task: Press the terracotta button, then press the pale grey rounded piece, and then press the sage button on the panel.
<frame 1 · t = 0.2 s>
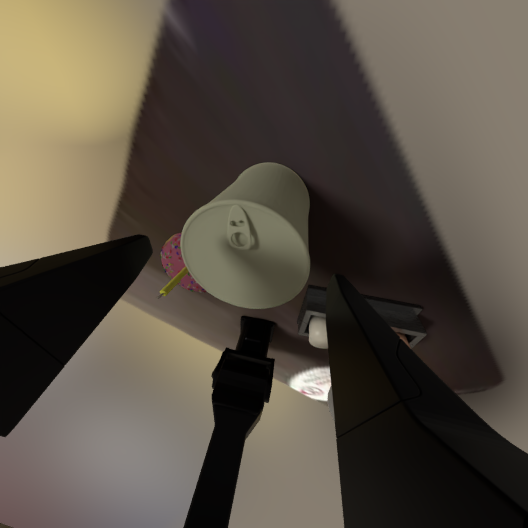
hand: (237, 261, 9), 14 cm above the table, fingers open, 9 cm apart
pale grey rounded piece: (321, 330, 27), point 4 cm above the table, slide at 0.0 cm
cupcake: (210, 244, 27), on the table
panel: (351, 313, 30), on the table
terracotta button: (393, 345, 26), point 4 cm above the table, slide at 0.0 cm
can: (269, 205, 22), on the table
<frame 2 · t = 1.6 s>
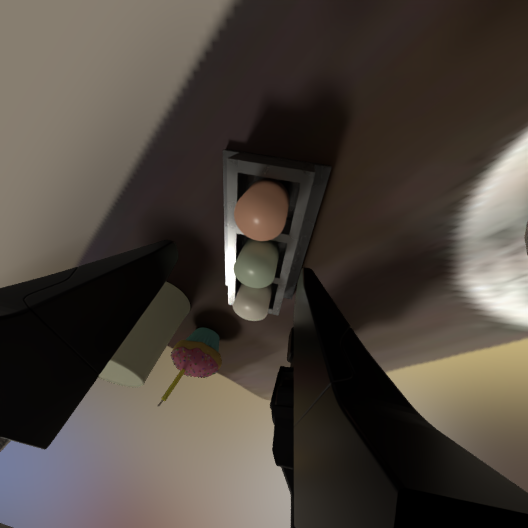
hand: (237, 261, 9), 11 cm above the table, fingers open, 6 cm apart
sage button: (258, 260, 17), point 4 cm above the table, slide at 0.0 cm
pale grey rounded piece: (253, 297, 20), point 4 cm above the table, slide at 0.0 cm
cupcake: (208, 333, 36), on the table
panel: (266, 238, 21), on the table
terracotta button: (264, 208, 14), point 4 cm above the table, slide at 0.0 cm
can: (165, 297, 31), on the table
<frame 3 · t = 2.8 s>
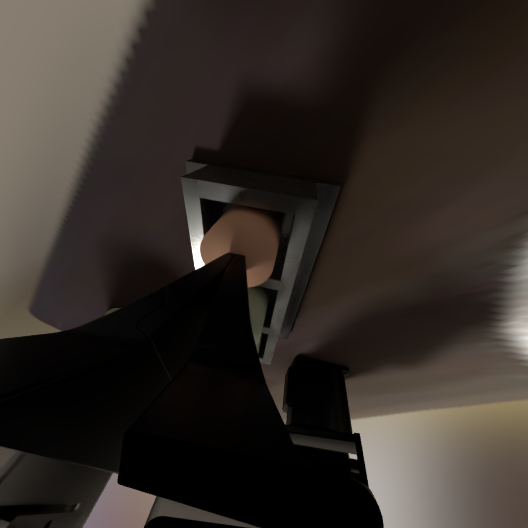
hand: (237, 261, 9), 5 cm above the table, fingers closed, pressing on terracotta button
sage button: (239, 310, 13), point 4 cm above the table, slide at 0.0 cm
pale grey rounded piece: (237, 347, 16), point 4 cm above the table, slide at 0.0 cm
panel: (253, 271, 16), on the table
terracotta button: (245, 241, 10), point 3 cm above the table, slide at 0.8 cm, touching gripper
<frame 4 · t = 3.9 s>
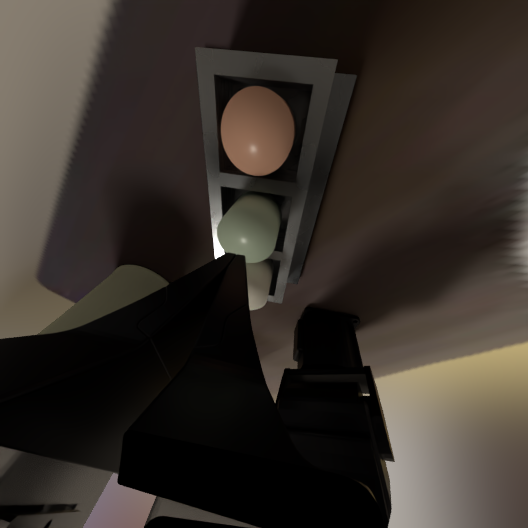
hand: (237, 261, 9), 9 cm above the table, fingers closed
sage button: (252, 225, 13), point 4 cm above the table, slide at 0.0 cm
pale grey rounded piece: (249, 279, 16), point 4 cm above the table, slide at 0.0 cm
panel: (263, 202, 16), on the table
terracotta button: (262, 133, 11), point 3 cm above the table, slide at 1.5 cm
can: (148, 288, 27), on the table
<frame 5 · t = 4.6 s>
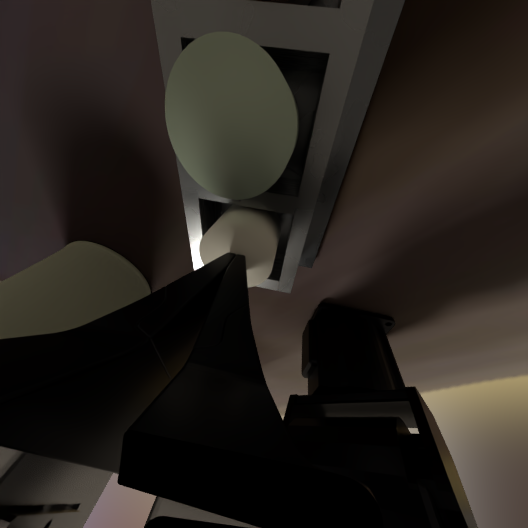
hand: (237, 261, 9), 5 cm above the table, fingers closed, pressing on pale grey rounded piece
sage button: (244, 130, 6), point 4 cm above the table, slide at 0.0 cm
pale grey rounded piece: (244, 241, 10), point 3 cm above the table, slide at 0.9 cm, touching gripper
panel: (266, 127, 10), on the table
can: (112, 276, 20), on the table
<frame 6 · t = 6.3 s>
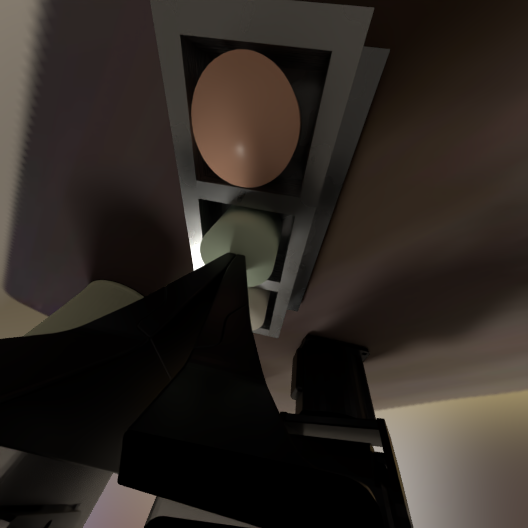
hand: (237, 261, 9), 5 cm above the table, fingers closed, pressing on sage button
sage button: (245, 241, 10), point 3 cm above the table, slide at 1.0 cm, touching gripper
pale grey rounded piece: (244, 295, 14), point 3 cm above the table, slide at 1.5 cm
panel: (258, 217, 13), on the table
terracotta button: (255, 128, 8), point 3 cm above the table, slide at 1.5 cm
can: (127, 306, 23), on the table
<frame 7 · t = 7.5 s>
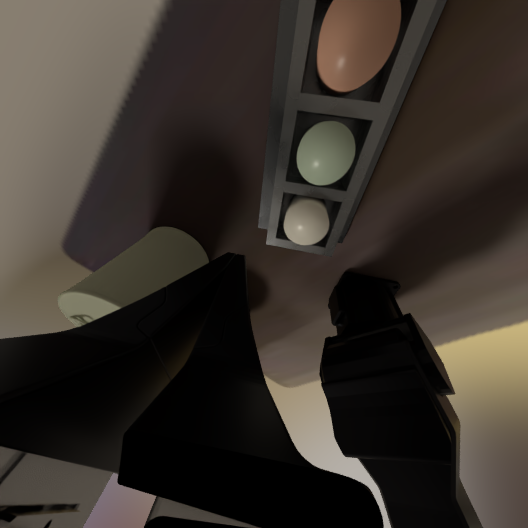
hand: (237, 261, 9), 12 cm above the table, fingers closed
sage button: (323, 152, 13), point 3 cm above the table, slide at 1.5 cm
pale grey rounded piece: (306, 217, 17), point 3 cm above the table, slide at 1.5 cm
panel: (321, 148, 16), on the table
terracotta button: (350, 49, 10), point 3 cm above the table, slide at 1.5 cm
can: (178, 255, 26), on the table
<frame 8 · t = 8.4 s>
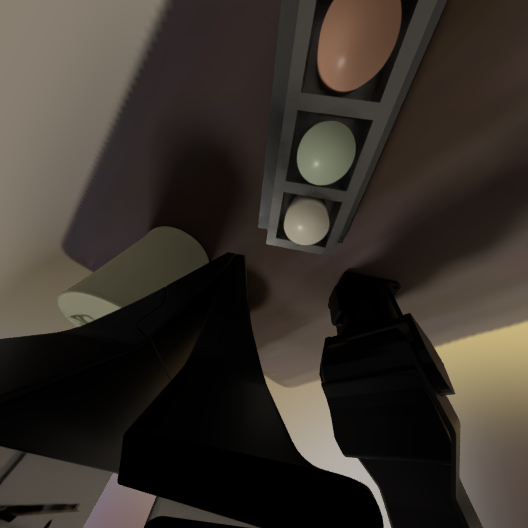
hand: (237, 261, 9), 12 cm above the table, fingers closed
sage button: (323, 152, 13), point 3 cm above the table, slide at 1.5 cm
pale grey rounded piece: (306, 217, 17), point 3 cm above the table, slide at 1.5 cm
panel: (321, 148, 16), on the table
terracotta button: (350, 49, 10), point 3 cm above the table, slide at 1.5 cm
can: (178, 255, 26), on the table
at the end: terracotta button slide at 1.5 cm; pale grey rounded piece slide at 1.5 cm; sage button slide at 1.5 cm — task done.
